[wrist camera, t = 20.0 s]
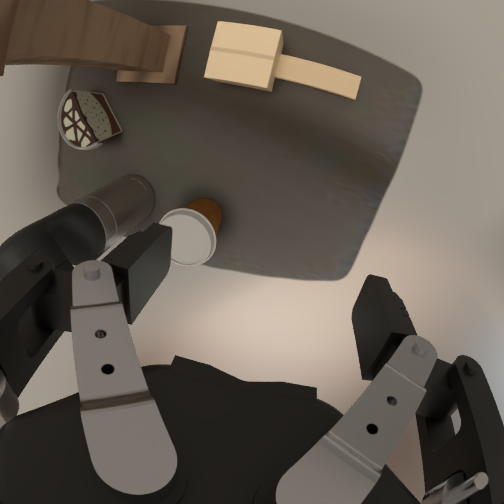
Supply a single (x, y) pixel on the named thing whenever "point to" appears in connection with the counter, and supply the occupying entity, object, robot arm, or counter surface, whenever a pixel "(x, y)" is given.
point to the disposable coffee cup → (193, 232)
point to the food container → (86, 119)
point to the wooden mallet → (269, 62)
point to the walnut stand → (89, 39)
